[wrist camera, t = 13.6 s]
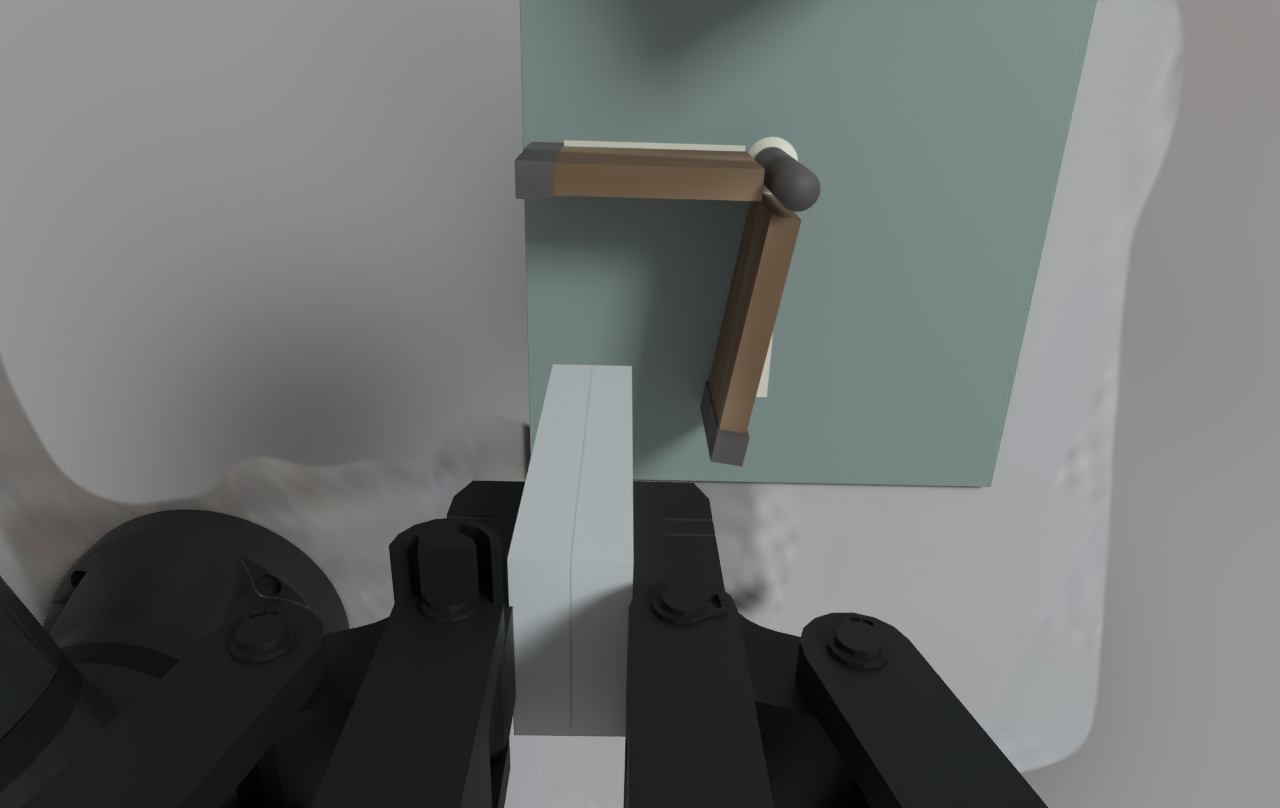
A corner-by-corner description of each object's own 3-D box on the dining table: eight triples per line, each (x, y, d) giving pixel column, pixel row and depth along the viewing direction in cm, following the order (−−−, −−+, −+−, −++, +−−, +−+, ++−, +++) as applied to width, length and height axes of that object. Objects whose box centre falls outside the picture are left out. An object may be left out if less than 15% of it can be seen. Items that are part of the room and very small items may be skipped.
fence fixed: (785, 182, 39) (817, 212, 32) (534, 175, 38) (514, 204, 32) (789, 146, 38) (822, 168, 31) (533, 138, 38) (512, 159, 31)
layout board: (987, 483, 45) (991, 487, 44) (531, 473, 44) (531, 477, 44) (1097, -25, 35) (1103, -26, 35) (520, -45, 35) (518, -46, 34)
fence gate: (699, 407, 42) (710, 461, 37) (750, 190, 38) (771, 215, 33) (727, 411, 42) (742, 466, 37) (780, 196, 38) (806, 222, 33)
